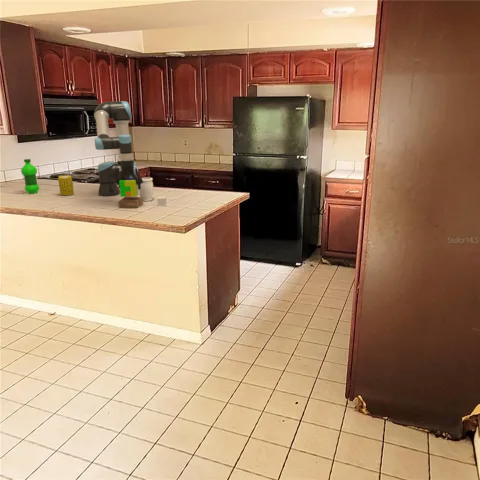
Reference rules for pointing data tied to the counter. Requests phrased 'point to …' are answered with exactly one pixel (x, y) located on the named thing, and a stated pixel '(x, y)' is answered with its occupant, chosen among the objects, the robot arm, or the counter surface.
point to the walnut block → (130, 202)
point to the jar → (146, 189)
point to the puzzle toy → (128, 187)
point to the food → (66, 185)
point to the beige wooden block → (161, 201)
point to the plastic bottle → (30, 177)
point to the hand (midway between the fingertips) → (130, 193)
